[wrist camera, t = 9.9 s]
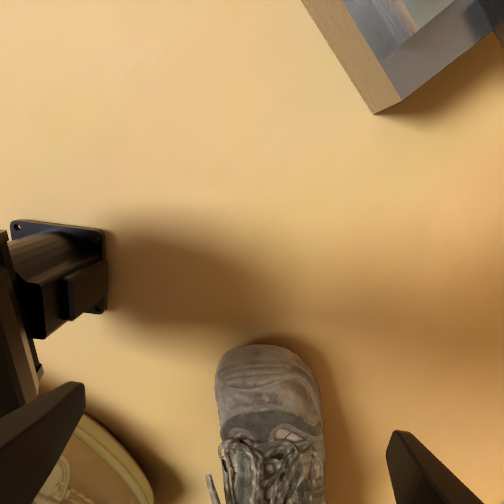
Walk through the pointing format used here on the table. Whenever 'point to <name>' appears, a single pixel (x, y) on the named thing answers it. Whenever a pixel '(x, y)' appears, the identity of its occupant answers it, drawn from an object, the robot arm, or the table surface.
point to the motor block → (402, 40)
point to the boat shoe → (95, 471)
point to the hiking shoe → (269, 428)
